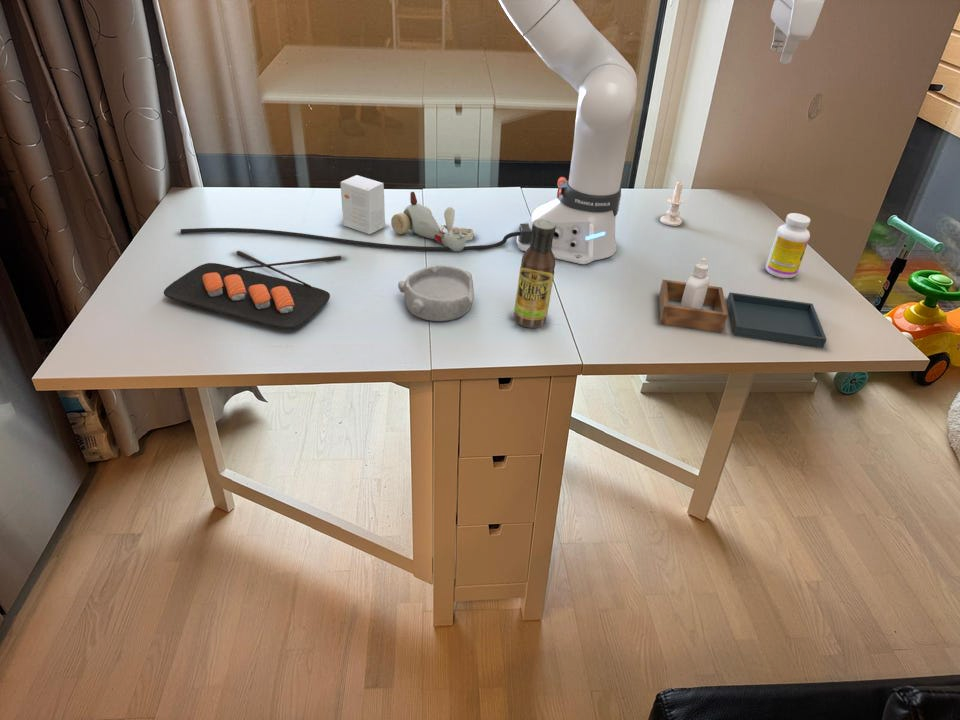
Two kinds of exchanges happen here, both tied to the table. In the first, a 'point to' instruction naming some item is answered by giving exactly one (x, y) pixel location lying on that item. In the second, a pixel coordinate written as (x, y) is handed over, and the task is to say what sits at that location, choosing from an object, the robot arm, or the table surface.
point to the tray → (775, 320)
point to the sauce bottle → (536, 276)
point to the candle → (673, 208)
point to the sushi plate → (251, 293)
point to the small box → (363, 204)
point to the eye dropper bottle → (696, 287)
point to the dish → (438, 292)
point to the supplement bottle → (789, 246)
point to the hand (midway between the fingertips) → (779, 56)
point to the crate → (692, 315)
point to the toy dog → (431, 225)
